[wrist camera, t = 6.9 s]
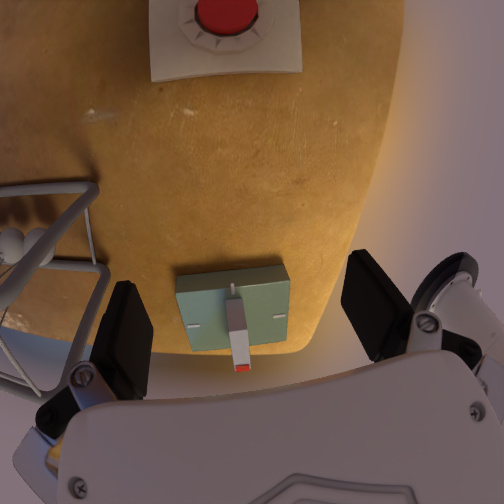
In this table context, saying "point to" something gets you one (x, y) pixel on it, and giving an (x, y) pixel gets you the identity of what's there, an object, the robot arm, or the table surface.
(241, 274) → the panel
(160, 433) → the robot arm
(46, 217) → the table surface
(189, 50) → the button block
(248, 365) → the tap handle
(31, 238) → the newton's cradle
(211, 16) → the button
